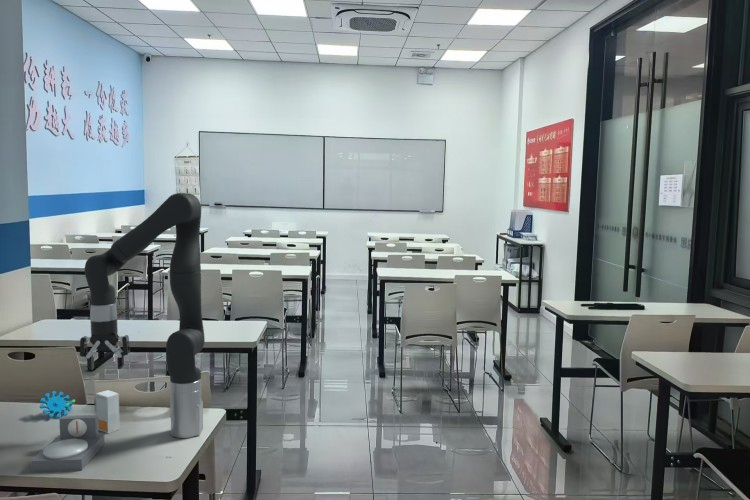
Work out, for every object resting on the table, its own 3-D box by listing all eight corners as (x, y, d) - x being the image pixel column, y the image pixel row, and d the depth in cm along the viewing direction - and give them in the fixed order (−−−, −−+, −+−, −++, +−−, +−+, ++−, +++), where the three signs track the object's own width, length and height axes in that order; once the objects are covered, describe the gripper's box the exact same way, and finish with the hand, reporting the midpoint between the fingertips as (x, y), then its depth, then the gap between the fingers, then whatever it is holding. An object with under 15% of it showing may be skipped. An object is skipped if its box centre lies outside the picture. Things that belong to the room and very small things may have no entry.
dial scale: (104, 443, 172) (103, 414, 171) (82, 470, 155) (81, 438, 154) (59, 444, 171) (58, 415, 170) (31, 471, 154) (30, 439, 153)
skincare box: (96, 429, 182) (95, 393, 181) (108, 425, 186) (107, 389, 184) (108, 434, 179) (107, 396, 178) (120, 429, 182) (119, 393, 181)
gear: (43, 418, 186) (38, 391, 191) (37, 427, 189) (33, 400, 194) (79, 413, 195) (73, 388, 200) (72, 422, 197) (67, 397, 202)
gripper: (131, 315, 183) (133, 364, 185) (84, 316, 182) (87, 366, 183) (123, 320, 176) (125, 371, 177) (74, 321, 174) (77, 373, 176)
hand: (105, 368), depth 180 cm, fingers open, 8 cm apart
